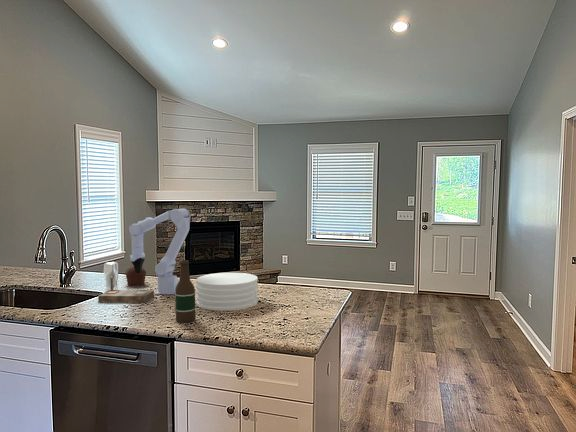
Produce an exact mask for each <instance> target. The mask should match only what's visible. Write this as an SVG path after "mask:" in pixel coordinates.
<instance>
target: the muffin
mask: <svg viewBox="0 0 576 432" xmlns="http://www.w3.org/2000/svg"><path fill="white" fill-rule="evenodd" d="M124 274H125V275H124V276H126V282H127V286H128V287H139V286H143V285H145V281H146V274H147V271H146V269H145V268H144V267H142V269H141V273H136V272H135V268H134V266H130V267H129V268H128V269H127V270H126V271H125V272H124Z"/></svg>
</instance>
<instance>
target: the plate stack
mask: <svg viewBox="0 0 576 432" xmlns="http://www.w3.org/2000/svg"><path fill="white" fill-rule="evenodd" d="M258 279H259V278H258V276H257V275H255V274H252V273H244V272H219V273H218V272H217V273H210V274H205V275H201V276H198V277H196V280H195V282H196V290H195V294H196V306H197V307H198V308H200V309H204V310H209V311H220V312H221V311H222V312H223V311H225V312H226V311H237V310H243V309H249V308H251V307H252V308H253V307H254V306H256V305H257V304H258V303H259V296H258V295H259V294H258V291H259V289H258V286H259V283H258Z"/></svg>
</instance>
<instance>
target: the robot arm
mask: <svg viewBox="0 0 576 432" xmlns="http://www.w3.org/2000/svg"><path fill="white" fill-rule="evenodd" d="M191 217H192V216H191V214H190V211H189V210H188V209H187V208H185V207H183V208H182V207H181V208H174V209H172V210H167V211H166V212H163V213H162V214H160V215H157V216H156V217H154V218H153V217H144V218H145V219H143V220H139V221H137V223H132V224H131V225H129V227H128V232H129V234H130V237H131V254H130V255H129V257H130V259H129V260H130V262H131V264H132V265H133V266H134V268H135V272H136V273H141V269H142V268H143V264H144V263H145V257H146V253H144V236H145V235H144V234H145V232H148V231H150V230H152V229H155V228H156V225H157V224H160V223H162V222H165V221H170V220H171V222H173V224H174V225H175V226H176V229H177V230H176V231H175V234H174V236H173V238H172V240H171V242H170V244H169V246H168V249H167V251H166V252H165V254H164V256H163V257H162V258H161V259H160V261H159V263H157V264H156V265H155V267H154V271H155V274H156V277H157V291H156V292H154V295H175V289H176V286H177V284H178V282H179V280H178V276H177V275H174V274H173V272H174V271H175V268H176V266H175V265H176V263H177V261H176V258H177V257H178V254H179V252H180V250H181V248H182V246H183V244H184V242H185V240H186V238H187V235H188V234H189V231H190V225H191V223H190V220H191ZM133 266H132V267H133Z"/></svg>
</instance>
